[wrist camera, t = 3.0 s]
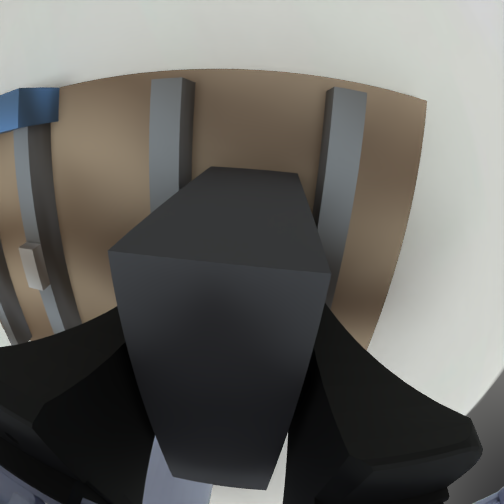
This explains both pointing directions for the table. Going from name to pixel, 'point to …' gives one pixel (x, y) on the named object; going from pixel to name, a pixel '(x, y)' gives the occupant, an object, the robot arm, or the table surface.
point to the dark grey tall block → (222, 319)
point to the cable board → (188, 168)
